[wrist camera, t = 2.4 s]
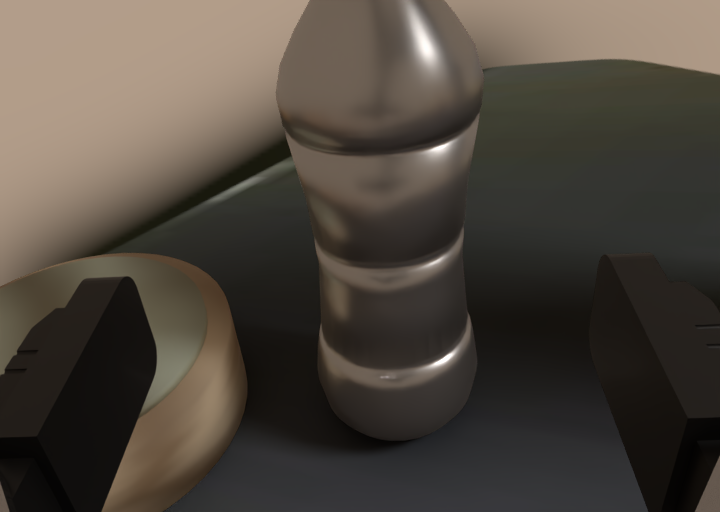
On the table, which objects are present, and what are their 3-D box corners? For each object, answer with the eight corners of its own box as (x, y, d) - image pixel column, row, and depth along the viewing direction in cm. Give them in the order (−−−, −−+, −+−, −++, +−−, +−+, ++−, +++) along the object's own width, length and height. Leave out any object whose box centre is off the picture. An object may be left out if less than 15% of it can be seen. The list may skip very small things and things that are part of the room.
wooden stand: (140, 281, 39) (117, 216, 36) (310, 389, 31) (296, 314, 28) (-119, 434, 31) (-172, 364, 28) (19, 635, 23) (-38, 562, 20)
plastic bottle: (312, 370, 32) (227, -103, 20) (447, 338, 33) (440, -131, 21) (342, 481, 27) (250, -71, 15) (501, 438, 28) (531, -109, 16)
